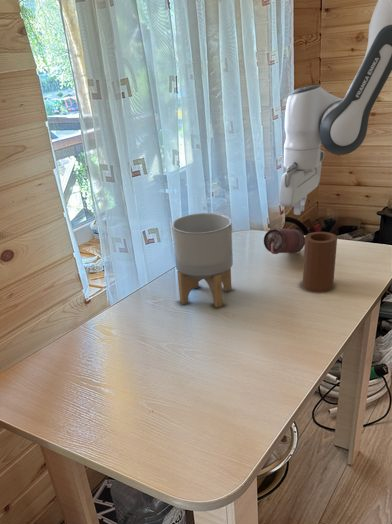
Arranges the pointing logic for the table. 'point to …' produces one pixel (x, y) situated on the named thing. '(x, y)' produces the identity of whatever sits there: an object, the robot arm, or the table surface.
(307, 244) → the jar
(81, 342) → the table surface
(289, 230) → the can
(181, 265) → the planter
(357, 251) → the table surface
